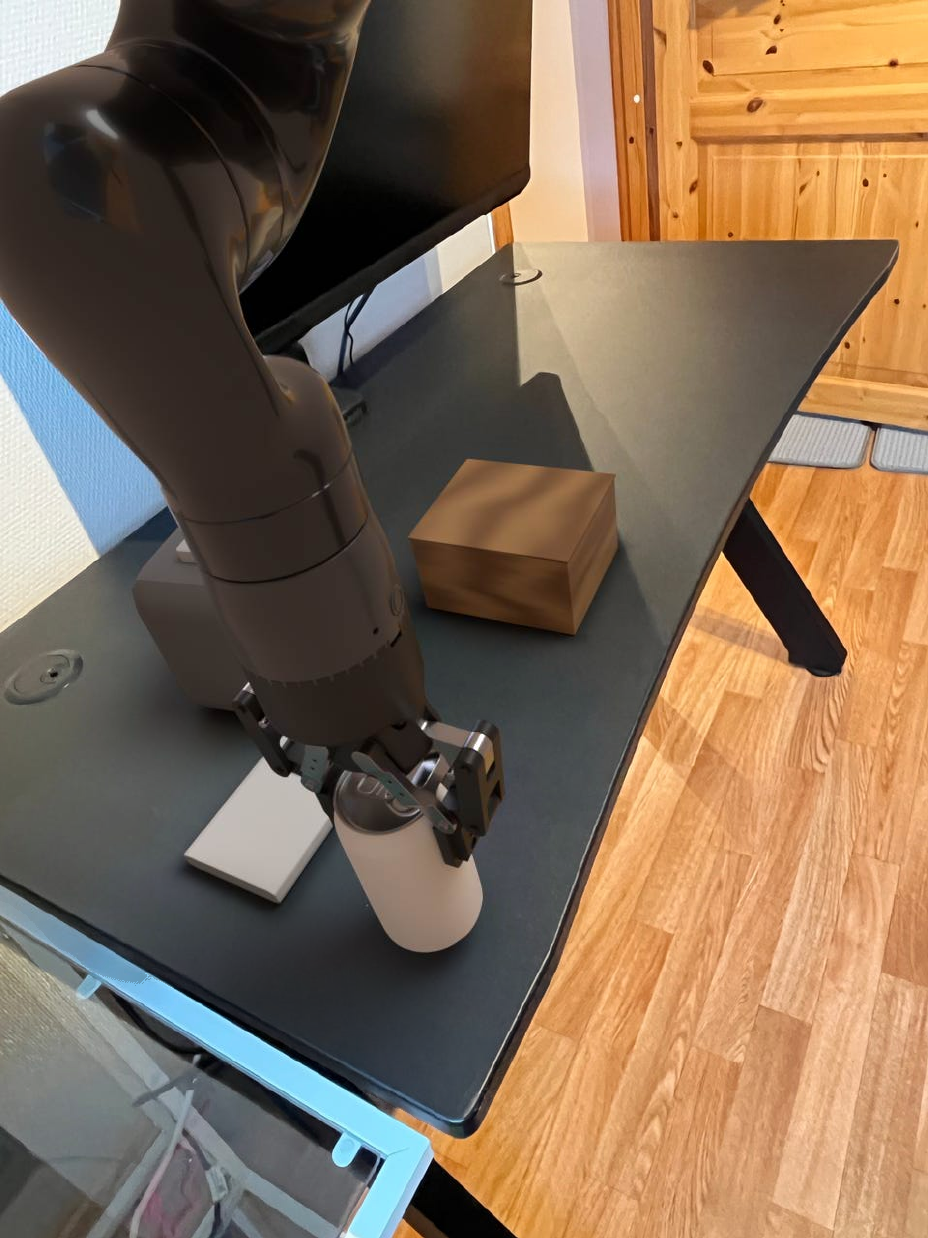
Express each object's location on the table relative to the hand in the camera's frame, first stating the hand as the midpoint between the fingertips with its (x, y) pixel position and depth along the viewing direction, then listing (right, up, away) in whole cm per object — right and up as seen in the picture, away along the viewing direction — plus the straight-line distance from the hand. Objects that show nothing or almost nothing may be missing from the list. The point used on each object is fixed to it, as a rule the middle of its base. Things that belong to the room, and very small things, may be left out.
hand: (404, 834), depth 46 cm
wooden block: (+9, +16, +30) cm, 35 cm away
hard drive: (-10, -2, +15) cm, 18 cm away
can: (+1, -6, +5) cm, 8 cm away
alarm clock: (-13, +8, +28) cm, 32 cm away
